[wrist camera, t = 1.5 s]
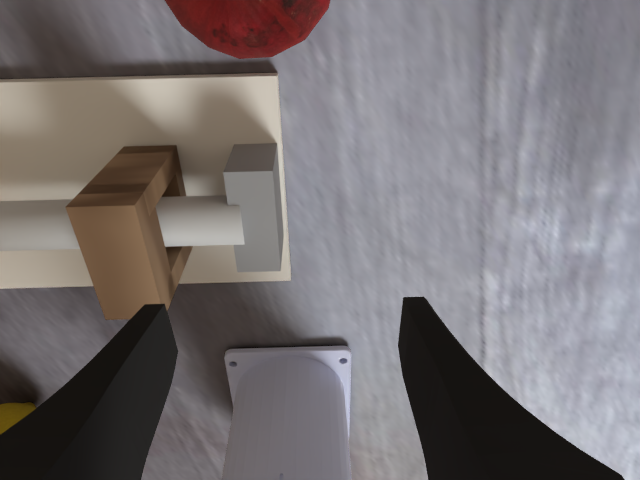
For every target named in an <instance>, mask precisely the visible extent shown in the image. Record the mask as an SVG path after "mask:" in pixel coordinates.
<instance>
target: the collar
mask: <svg viewBox="0 0 640 480" xmlns="http://www.w3.org/2000/svg"><path fill="white" fill-rule="evenodd" d="M177 196H186V191H185V186H184V181H183V176H182V171H181V166H180V161H179V156H178V151H177V145H163V146H124V147H123V148H122V149H121V150H120V151H119V152H118V153H117V154H116V155H115V156H114V157H113V158H112V159H111V160H110V161H109V162H108V163H107V164H106V166H105V167H104V168H103V169H102V170H101V171H100V172H99V173H98V174H97V175H96V176H95V177H94V178H93V179H92V180H91V181H90V182H89V183H88V184H87V185H86V186H85V187H84V188H83V189H82V190H81V191H80V192H79V193H78V195H77V196H76V197H75V198H74V199H73V200H72V201H71V202H70V203H69V204H68V205H67V206H66V207H65V208H66V211H67V213H68V216H69V219H70V222H71V225H72V227H73V230H74V233H75V236H76V238H77V241H78V244H79V247H80V250H81V252H82V255H83V258H84V261H85V263H86V266H87V269H88V272H89V275H90V277H91V280H92V283H93V286H94V288H95V291H96V294H97V297H98V300H99V302H100V305H101V308H102V311H103V314H104V316H105V319H106V320H114V319H131V318H132V317H133V316H134V315H135V314H136V313H137V312H138V311H139V310H140V309H141V308H142V307H143V306H144V305H145V304H165V306H166V310H167V311H168V308H169V306H170V303H171V301H172V298H173V296H174V293H175V291H176V288H177V286H178V283H179V281H180V278H181V276H182V273H183V270H184V268H185V265H186V263H187V260H188V258H189V255H190V253H191V250H192V248H193V246H171V247H165V244H164V240H163V236H162V232H161V228H160V224H159V219H158V215H157V211H156V207H155V206H156V205H157V203H158V201H159V200H160V198H161V197H177Z"/></svg>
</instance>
